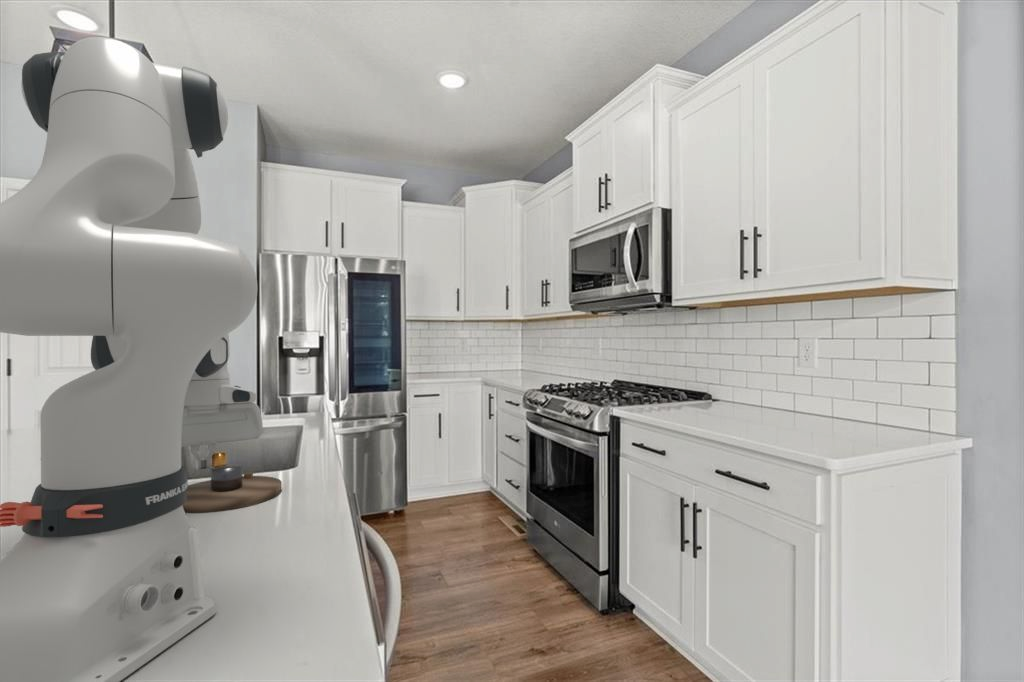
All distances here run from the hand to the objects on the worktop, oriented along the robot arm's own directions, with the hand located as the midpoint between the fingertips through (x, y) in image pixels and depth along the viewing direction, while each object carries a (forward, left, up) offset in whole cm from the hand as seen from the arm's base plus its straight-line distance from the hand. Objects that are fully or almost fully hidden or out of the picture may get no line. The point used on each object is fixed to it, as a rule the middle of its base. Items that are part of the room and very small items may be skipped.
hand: (203, 468), depth 98 cm
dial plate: (-4, -6, -4) cm, 8 cm away
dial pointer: (-2, -5, -3) cm, 6 cm away
